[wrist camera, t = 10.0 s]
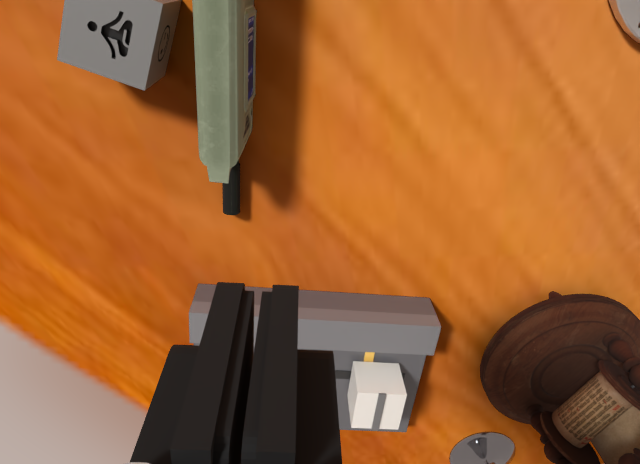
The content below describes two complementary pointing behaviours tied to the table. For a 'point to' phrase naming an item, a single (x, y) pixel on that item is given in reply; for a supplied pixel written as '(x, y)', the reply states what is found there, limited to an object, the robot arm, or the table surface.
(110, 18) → the dice cube
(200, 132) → the handheld radio
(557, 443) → the scroll
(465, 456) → the wine glass
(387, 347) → the console
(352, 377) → the fader knob
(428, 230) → the table surface
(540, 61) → the table surface
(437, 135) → the table surface
